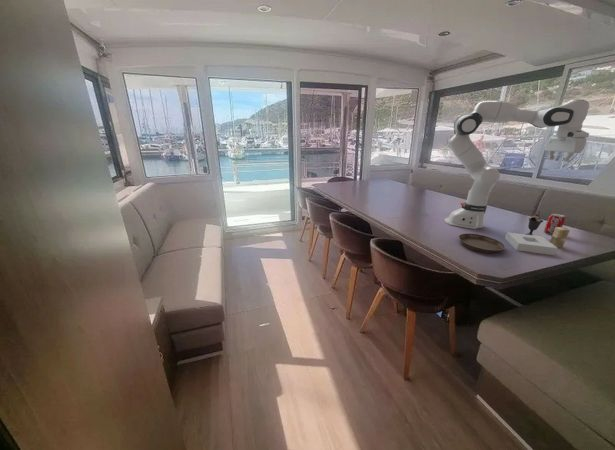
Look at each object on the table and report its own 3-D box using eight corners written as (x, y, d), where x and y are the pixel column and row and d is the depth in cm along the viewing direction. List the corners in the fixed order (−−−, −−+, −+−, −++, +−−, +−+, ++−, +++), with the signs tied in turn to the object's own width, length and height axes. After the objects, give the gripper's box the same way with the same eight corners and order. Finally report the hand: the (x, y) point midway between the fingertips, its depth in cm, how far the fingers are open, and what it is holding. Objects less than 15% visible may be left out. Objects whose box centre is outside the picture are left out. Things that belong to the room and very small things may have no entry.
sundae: (533, 234, 148) (542, 210, 143) (539, 238, 142) (548, 214, 137) (520, 232, 150) (528, 209, 145) (525, 236, 144) (534, 212, 139)
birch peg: (553, 246, 132) (560, 229, 129) (549, 243, 136) (555, 226, 132) (562, 247, 131) (569, 230, 127) (558, 244, 135) (565, 227, 131)
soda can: (561, 236, 146) (569, 217, 142) (548, 235, 147) (555, 216, 143) (553, 231, 152) (560, 213, 148) (540, 230, 154) (547, 212, 149)
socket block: (516, 250, 127) (519, 243, 126) (504, 238, 141) (507, 232, 140) (555, 255, 122) (558, 248, 121) (539, 242, 136) (541, 236, 135)
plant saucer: (510, 249, 128) (512, 244, 127) (490, 258, 119) (492, 252, 117) (470, 236, 145) (471, 230, 144) (449, 243, 135) (450, 237, 134)
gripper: (545, 133, 139) (537, 158, 144) (578, 133, 120) (567, 162, 125) (557, 133, 139) (548, 158, 144) (592, 133, 120) (581, 162, 125)
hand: (557, 160), depth 134 cm, fingers open, 8 cm apart
